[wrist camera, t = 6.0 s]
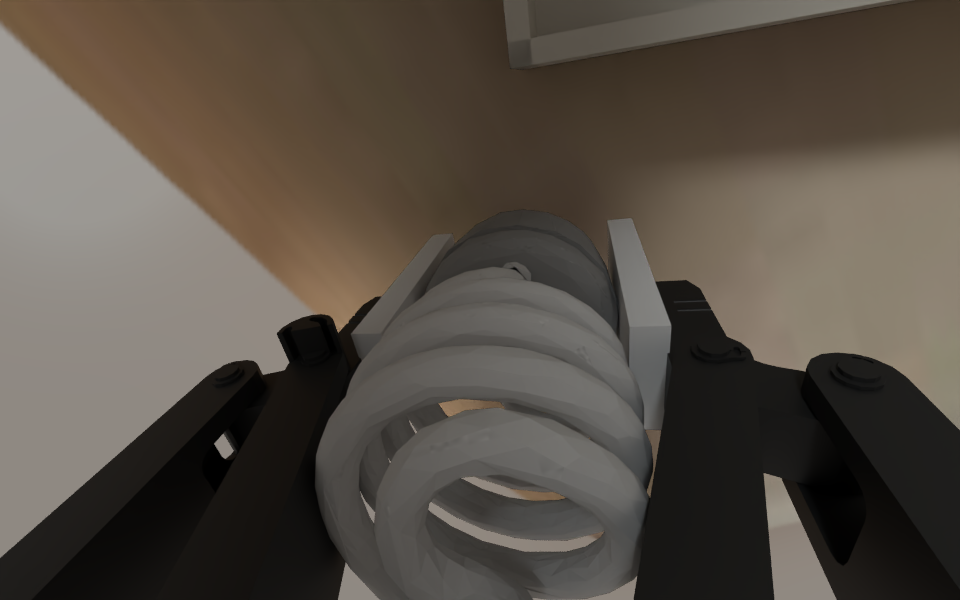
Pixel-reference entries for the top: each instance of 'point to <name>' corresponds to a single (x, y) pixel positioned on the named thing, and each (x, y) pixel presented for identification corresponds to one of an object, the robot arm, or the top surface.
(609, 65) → the top surface
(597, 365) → the light bulb
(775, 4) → the carton
